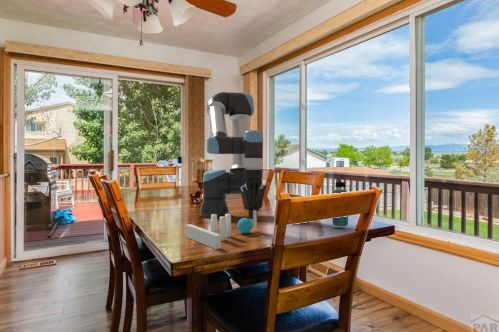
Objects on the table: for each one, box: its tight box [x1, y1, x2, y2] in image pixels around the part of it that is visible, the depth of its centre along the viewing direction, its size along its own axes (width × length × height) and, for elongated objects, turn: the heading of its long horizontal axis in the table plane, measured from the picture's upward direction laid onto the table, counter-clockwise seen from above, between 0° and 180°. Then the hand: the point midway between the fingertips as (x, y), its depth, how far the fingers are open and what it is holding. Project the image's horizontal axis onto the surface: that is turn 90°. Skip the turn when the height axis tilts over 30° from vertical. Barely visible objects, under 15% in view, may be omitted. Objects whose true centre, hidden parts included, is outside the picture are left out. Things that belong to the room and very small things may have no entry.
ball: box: [237, 217, 253, 234], centre depth 121 cm, size 6×6×6 cm
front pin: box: [225, 213, 232, 238], centre depth 115 cm, size 2×2×8 cm
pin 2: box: [219, 216, 227, 242], centre depth 110 cm, size 2×2×8 cm
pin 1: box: [210, 214, 218, 234], centre depth 114 cm, size 2×2×8 cm
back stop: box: [185, 223, 222, 250], centre depth 108 cm, size 20×2×4 cm, turn 41°
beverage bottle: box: [332, 181, 349, 227], centre depth 130 cm, size 6×7×20 cm
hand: (252, 226), depth 124 cm, fingers closed
